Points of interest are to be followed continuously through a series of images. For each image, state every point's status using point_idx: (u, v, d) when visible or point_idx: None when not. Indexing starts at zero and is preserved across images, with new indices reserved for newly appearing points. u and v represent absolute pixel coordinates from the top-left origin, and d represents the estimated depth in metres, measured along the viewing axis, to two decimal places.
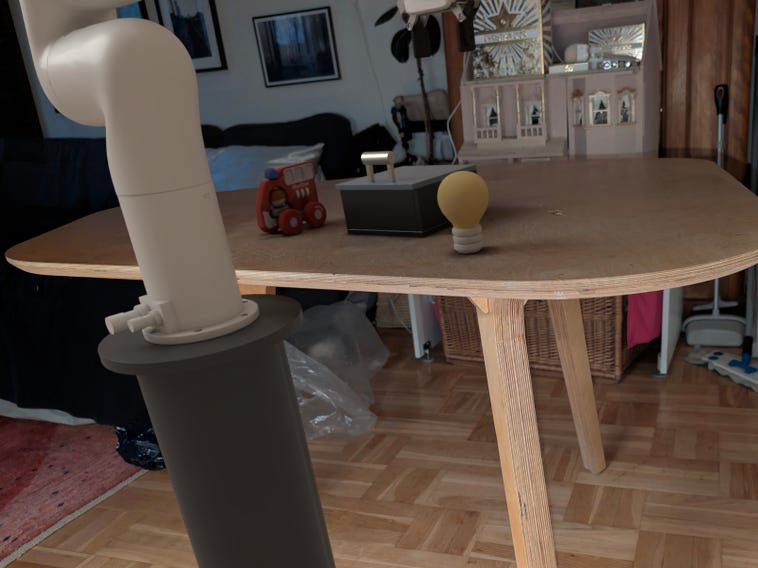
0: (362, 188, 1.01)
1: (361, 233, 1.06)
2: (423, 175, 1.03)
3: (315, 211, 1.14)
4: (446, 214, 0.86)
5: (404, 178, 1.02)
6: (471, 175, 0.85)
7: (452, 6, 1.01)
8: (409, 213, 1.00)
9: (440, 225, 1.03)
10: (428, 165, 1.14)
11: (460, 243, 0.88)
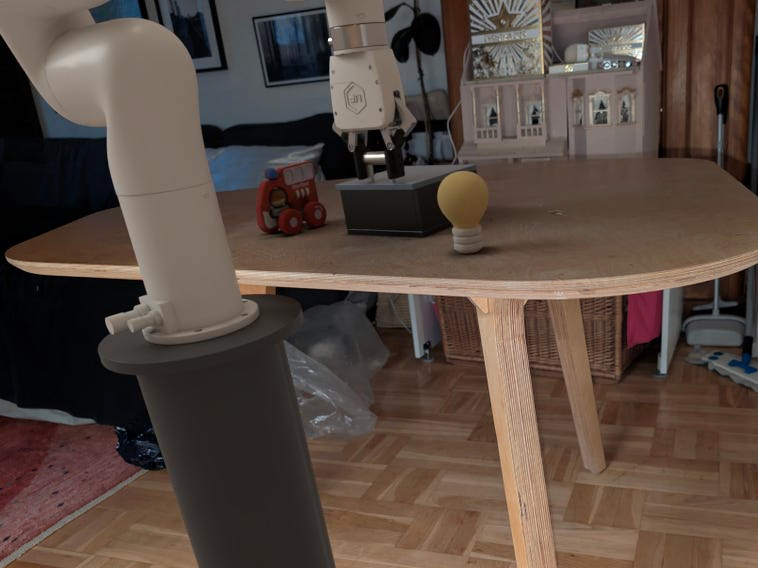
0: (362, 188, 1.01)
1: (361, 233, 1.06)
2: (423, 175, 1.03)
3: (315, 211, 1.14)
4: (446, 214, 0.86)
5: (404, 178, 1.02)
6: (471, 175, 0.85)
7: (383, 131, 0.97)
8: (409, 213, 1.00)
9: (440, 225, 1.03)
10: (428, 165, 1.14)
11: (460, 243, 0.88)
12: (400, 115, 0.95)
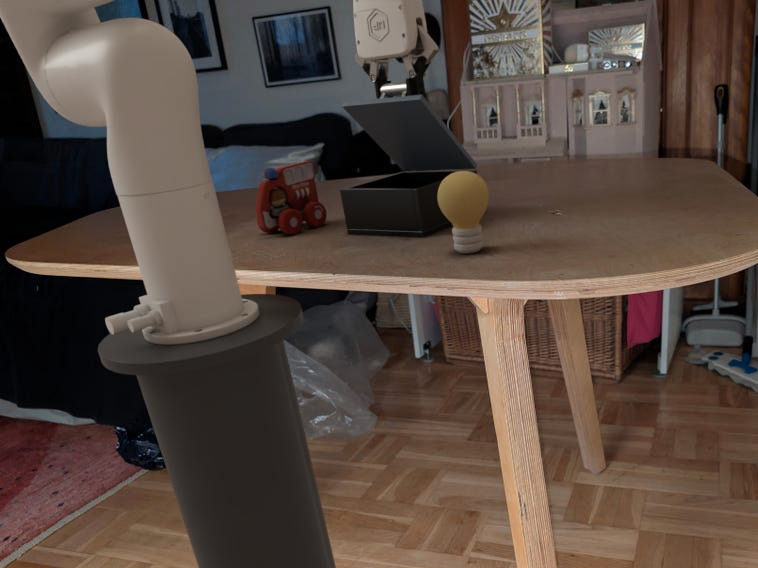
0: (369, 102, 1.00)
1: (361, 233, 1.06)
2: None
3: (315, 211, 1.14)
4: (446, 214, 0.86)
5: None
6: (471, 175, 0.85)
7: (405, 58, 0.99)
8: (409, 213, 1.00)
9: (440, 225, 1.03)
10: None
11: (460, 243, 0.88)
12: (422, 42, 0.97)
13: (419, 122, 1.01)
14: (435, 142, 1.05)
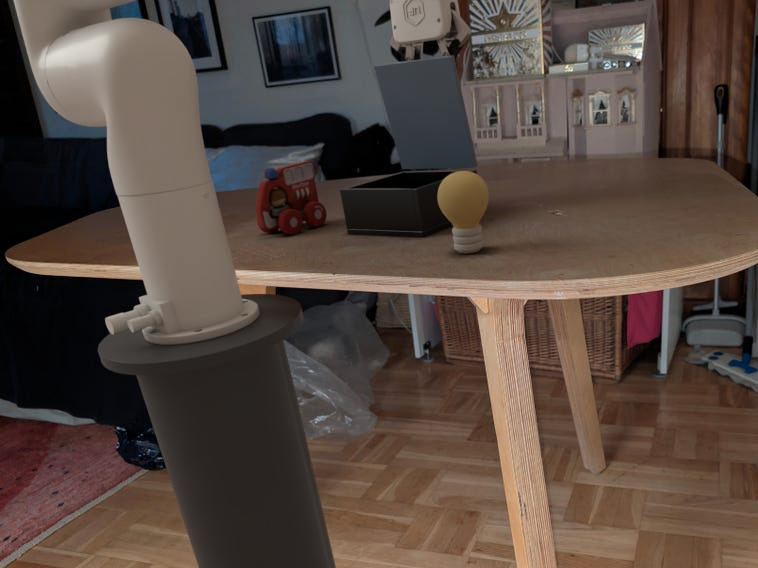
0: (401, 62, 1.05)
1: (361, 233, 1.06)
2: None
3: (315, 211, 1.14)
4: (446, 214, 0.86)
5: None
6: (471, 175, 0.85)
7: (440, 41, 1.05)
8: (409, 213, 1.00)
9: (440, 225, 1.03)
10: None
11: (460, 243, 0.88)
12: (456, 25, 1.03)
13: (440, 91, 1.04)
14: (447, 123, 1.07)
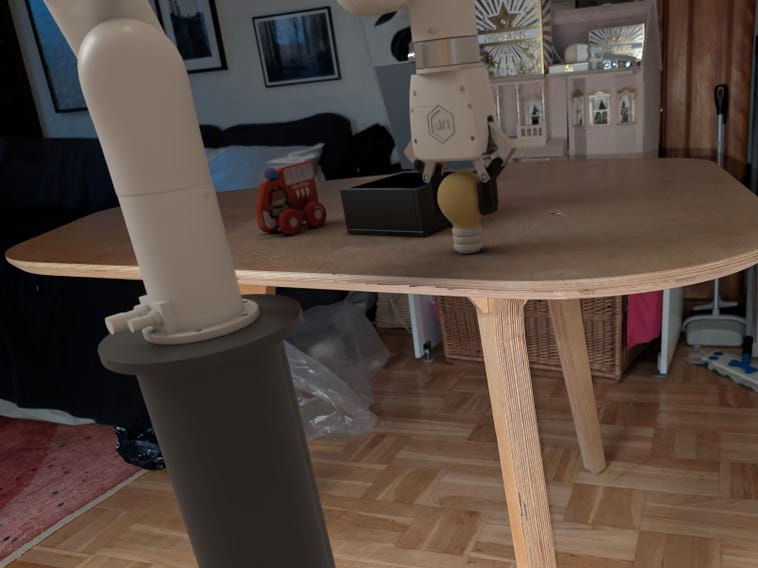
0: (401, 62, 1.05)
1: (361, 233, 1.06)
2: None
3: (315, 211, 1.14)
4: (446, 214, 0.86)
5: None
6: (471, 175, 0.85)
7: (475, 160, 0.82)
8: (409, 213, 1.00)
9: (440, 225, 1.03)
10: None
11: (460, 243, 0.88)
12: (496, 141, 0.81)
13: None
14: None
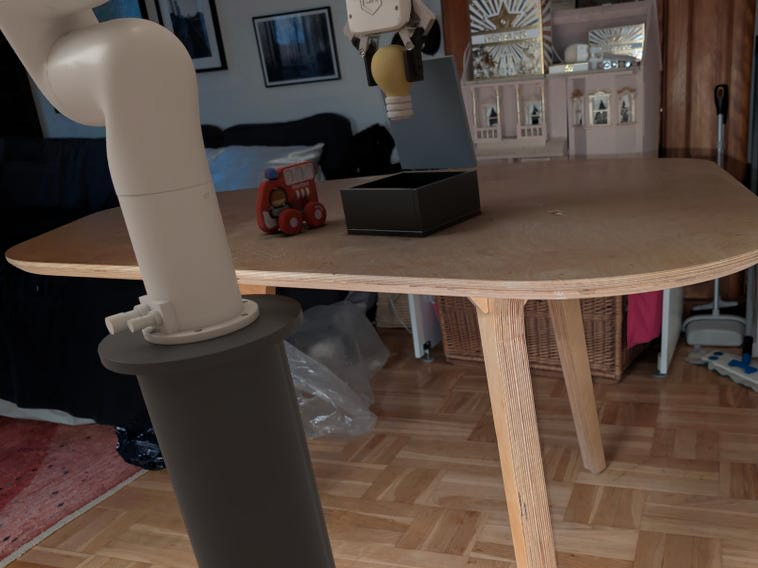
0: None
1: (361, 233, 1.06)
2: None
3: (315, 211, 1.14)
4: (378, 82, 0.98)
5: None
6: (400, 47, 0.97)
7: (401, 31, 0.95)
8: (409, 213, 1.00)
9: (440, 225, 1.03)
10: None
11: (392, 110, 1.00)
12: (418, 12, 0.93)
13: (440, 91, 1.04)
14: (447, 123, 1.07)
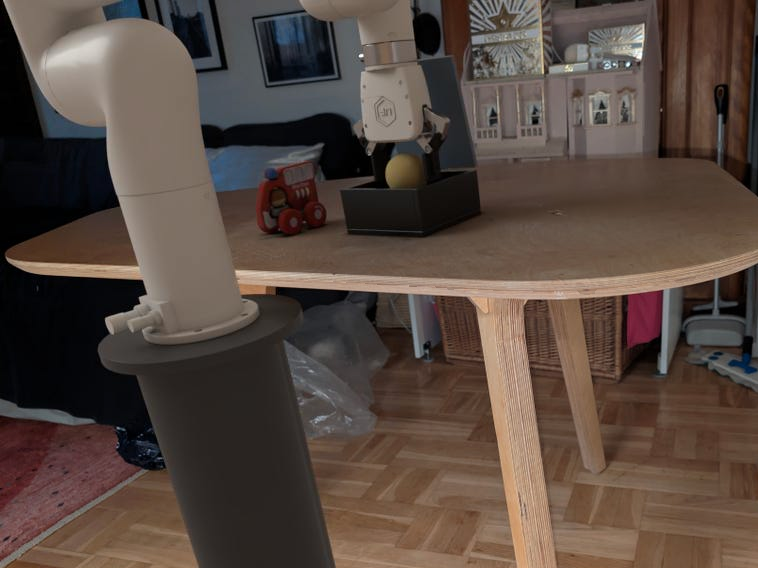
0: None
1: (361, 233, 1.06)
2: None
3: (315, 211, 1.14)
4: None
5: None
6: (412, 156, 1.04)
7: (418, 138, 1.00)
8: (409, 213, 1.00)
9: (440, 225, 1.03)
10: None
11: None
12: (433, 119, 0.99)
13: (440, 91, 1.04)
14: None
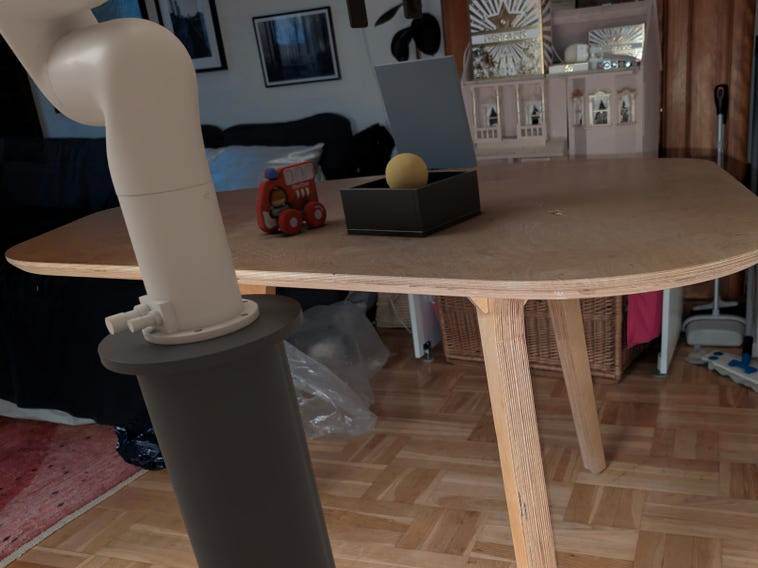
0: (401, 62, 1.05)
1: (361, 233, 1.06)
2: None
3: (315, 211, 1.14)
4: None
5: None
6: (413, 156, 1.04)
7: None
8: (409, 213, 1.00)
9: (440, 225, 1.03)
10: None
11: None
12: None
13: (440, 91, 1.04)
14: (447, 123, 1.07)
